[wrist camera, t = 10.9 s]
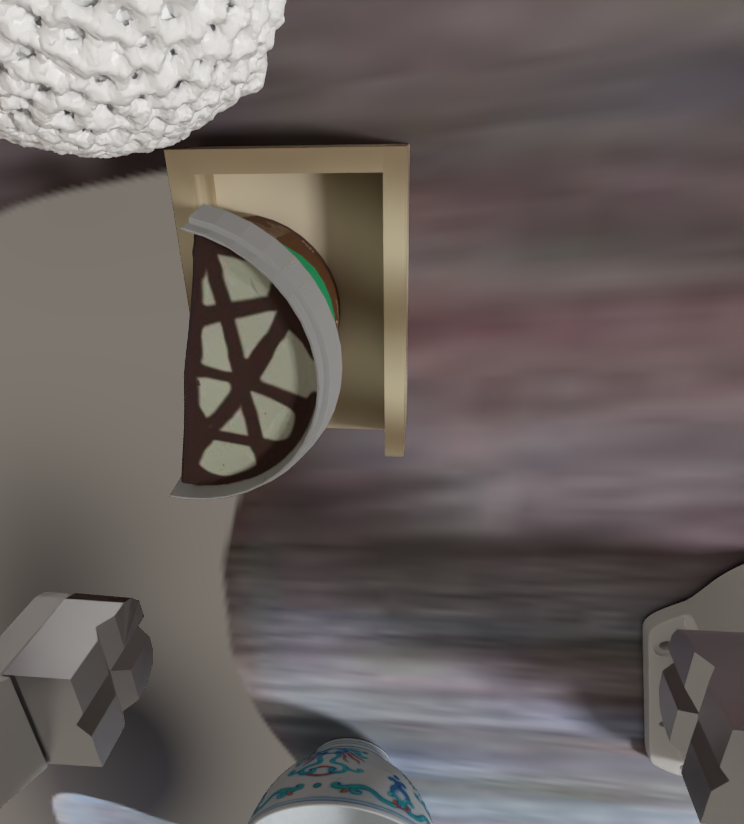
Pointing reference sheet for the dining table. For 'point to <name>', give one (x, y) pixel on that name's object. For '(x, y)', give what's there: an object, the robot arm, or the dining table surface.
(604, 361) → the dining table surface
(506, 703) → the dining table surface
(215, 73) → the white bumpy round lump
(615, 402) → the dining table surface
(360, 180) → the wooden tray
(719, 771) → the robot arm
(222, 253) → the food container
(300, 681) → the dining table surface
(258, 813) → the chinaware
